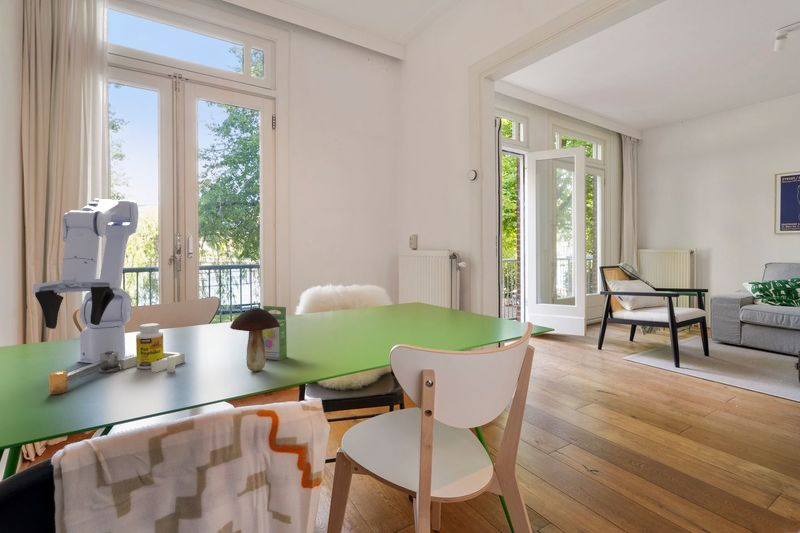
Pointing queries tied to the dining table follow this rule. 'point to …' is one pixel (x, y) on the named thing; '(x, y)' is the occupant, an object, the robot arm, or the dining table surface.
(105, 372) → the mount
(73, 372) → the gold-tipped lever
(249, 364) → the decorative mushroom
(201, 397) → the dining table surface
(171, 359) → the post
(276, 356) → the ink box
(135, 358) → the socket
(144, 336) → the supplement bottle
